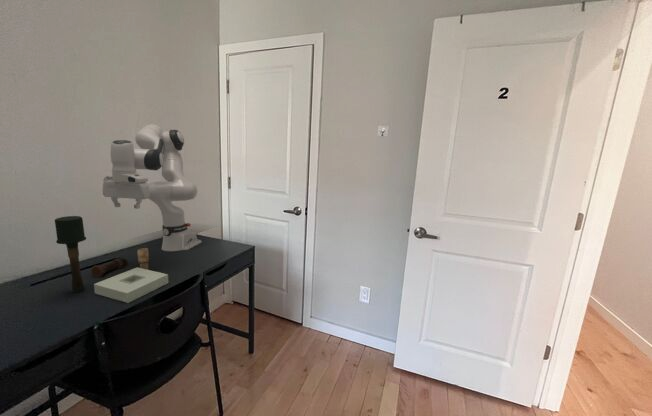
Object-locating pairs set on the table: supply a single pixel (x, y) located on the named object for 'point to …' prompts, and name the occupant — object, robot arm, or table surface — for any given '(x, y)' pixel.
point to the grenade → (72, 245)
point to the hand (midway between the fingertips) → (127, 207)
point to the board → (131, 284)
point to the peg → (143, 258)
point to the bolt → (108, 267)
